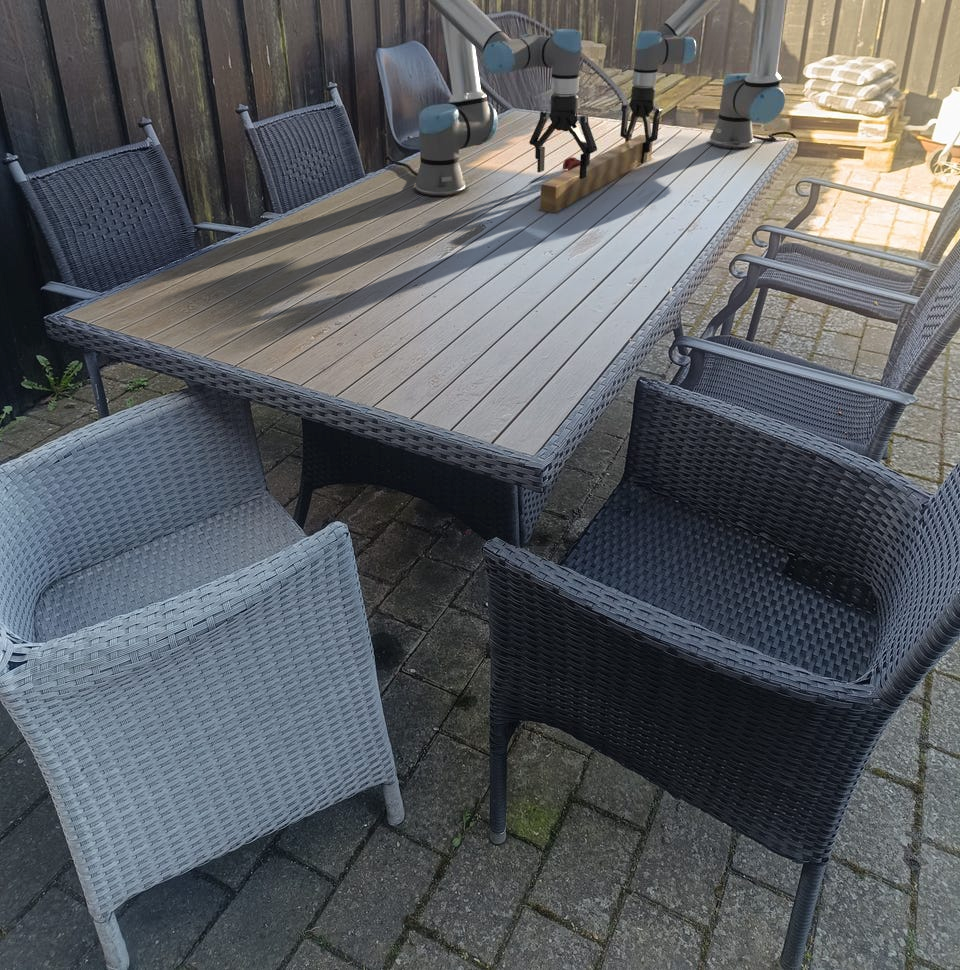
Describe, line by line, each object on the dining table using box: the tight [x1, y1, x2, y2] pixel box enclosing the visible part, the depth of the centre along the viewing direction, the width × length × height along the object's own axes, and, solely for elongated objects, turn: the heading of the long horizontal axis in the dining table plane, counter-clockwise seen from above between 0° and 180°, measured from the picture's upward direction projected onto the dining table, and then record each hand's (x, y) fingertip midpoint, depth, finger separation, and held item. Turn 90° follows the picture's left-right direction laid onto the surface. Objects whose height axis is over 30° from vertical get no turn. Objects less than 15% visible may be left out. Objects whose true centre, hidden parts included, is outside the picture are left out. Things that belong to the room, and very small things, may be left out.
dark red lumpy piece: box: [562, 156, 580, 171], centre depth 273 cm, size 6×4×8 cm
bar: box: [539, 134, 654, 214], centre depth 263 cm, size 68×5×7 cm, turn 147°
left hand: (561, 174), depth 241 cm, fingers open, 13 cm apart
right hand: (636, 160), depth 283 cm, fingers closed on bar, 5 cm apart
